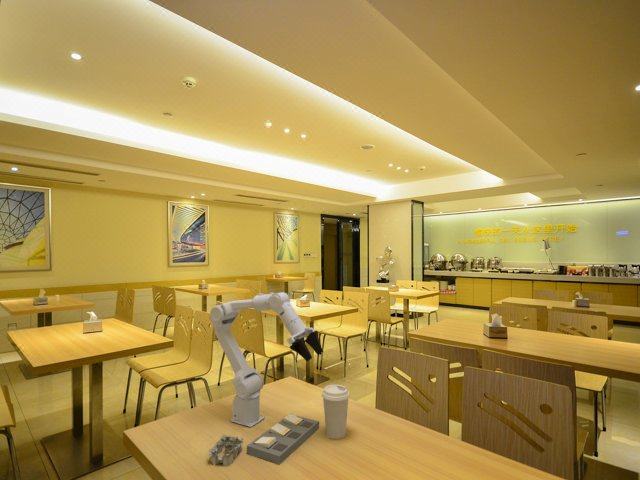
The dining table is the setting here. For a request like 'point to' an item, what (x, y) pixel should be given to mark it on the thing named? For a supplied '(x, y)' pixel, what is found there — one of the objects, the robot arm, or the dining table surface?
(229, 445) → the egg carton
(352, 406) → the dining table surface
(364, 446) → the dining table surface
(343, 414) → the coffee cup
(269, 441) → the rocker carton end
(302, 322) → the robot arm
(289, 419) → the labelled cream tile
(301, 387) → the dining table surface
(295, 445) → the grey rocker switch panel
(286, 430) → the rocker middle
